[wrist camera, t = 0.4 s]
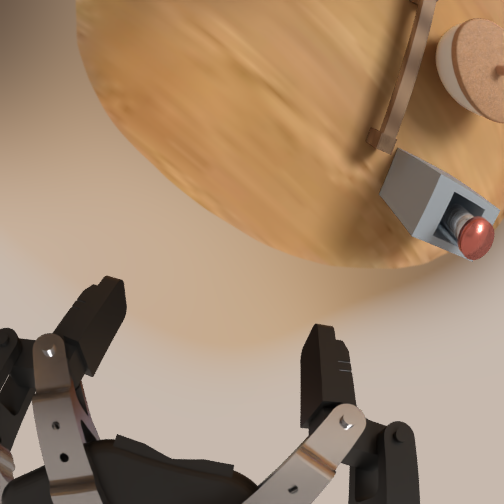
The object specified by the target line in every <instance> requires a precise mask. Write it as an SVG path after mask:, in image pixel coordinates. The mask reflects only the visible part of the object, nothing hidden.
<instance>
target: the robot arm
mask: <svg viewBox="0 0 504 504" xmlns="http://www.w3.org/2000/svg"><path fill="white" fill-rule="evenodd" d="M126 309H127V305H126V297H125V289H124V282H123V280H120V279H117V278H113V277H110V276H105V277H104V278H103V279H102V281H101V282H100V283H99V284H98V286H97V285H94V284H93V285H92V286H90V287H89V288H87V289H85V290H84V291H83V292H82V294H81V295H80V296H79V297H78V299H77V301H75V303H74V304H73V306H72V308H70V309H69V311H68V312H67V314H66V315H65V316H64V318H63V319H62V321H61V322H60V323H59V325H58V326H57V328H56V329H55V331H54V332H53V333H47V334H44V335H41V336H40V337H39V338H37V340H28V339H20V338H18V336H17V334H16V332H15V331H14V330H13V329H10V328H3V329H0V390H1V388H2V386H3V384H4V383H5V384H4V386H3V388H2V390H1V392H0V504H311V503H312V502H313V501H314V500H315V499H316V498H317V496H318V495H319V494H320V493H321V492H322V491H323V489H324V488H325V487H326V486H327V485H328V483H329V482H330V481H331V480H332V478H333V477H334V475H335V473H336V471H335V470H336V468H337V467H338V465H339V464H340V463H343V464H346V465H349V466H350V477H349V501H348V504H420V495H419V478H418V465H417V455H416V446H415V438H414V433H413V431H412V429H411V428H410V427H409V426H408V425H407V424H406V423H404V422H400V421H396V422H393V423H390V424H389V425H388V426H385V425H382V424H379V423H376V422H373V421H370V420H368V419H366V418H365V415H364V414H363V412H362V411H361V410H360V409H359V408H358V407H357V406H356V400H355V392H354V384H353V377H352V373H351V364H350V357H349V351H348V349H347V347H346V346H345V344H344V342H343V341H341V340H336V339H335V331H334V328H333V327H332V326H326V325H321V324H315V325H314V326H313V328H312V330H311V332H310V334H309V336H308V338H307V340H306V342H305V344H304V346H303V349H302V353H301V360H300V363H301V417H300V418H301V419H300V421H301V422H300V423H301V424H300V427H301V428H309V436H308V437H307V438H306V439H305V440H304V441H303V443H301V444H300V446H299V447H298V448H297V449H296V450H295V451H294V452H293V453H292V454H291V455H290V456H289V457H288V458H287V459H286V460H285V461H284V462H283V463H282V464H281V465H280V466H279V467H278V468H277V469H276V470H275V471H274V472H272V474H270V475H269V476H268V477H267V478H266V479H265V480H264V481H263V482H262V483H260V484H259V485H258V486H257V485H256V484H255V483H254V482H253V481H251V480H250V479H249V478H247V477H246V476H244V475H242V474H240V473H238V472H236V471H234V470H233V468H234V465H231V464H225V463H220V462H214V461H209V460H204V459H203V460H202V459H201V460H187V459H171V458H169V457H167V456H165V455H163V454H162V453H160V452H158V451H156V450H154V449H153V448H151V447H149V446H147V445H146V444H144V443H141V442H138V441H135V440H132V439H129V438H126V437H124V436H121V435H118V434H117V436H116V439H115V440H114V439H105V440H100V438H99V436H98V433H97V430H96V428H95V426H94V424H93V422H92V418H91V415H90V412H89V408H88V405H87V401H86V397H85V393H84V389H83V385H82V381H81V380H82V377H83V376H84V374H86V375H89V376H91V377H93V376H94V374H95V372H96V370H97V368H98V366H99V364H100V362H101V360H102V359H103V357H104V355H105V353H106V351H107V349H108V347H109V346H110V343H111V342H112V340H113V338H114V336H115V334H116V333H117V331H118V329H119V327H120V325H121V323H122V322H123V320H124V318H125V315H126ZM8 375H9V377H8ZM7 377H8V378H7ZM6 379H7V380H6ZM5 381H6V382H5ZM35 392H36V394H35ZM31 400H32V405H33V411H34V418H35V423H36V429H37V434H38V439H39V444H40V448H41V452H42V456H43V460H44V464H45V465H44V466H42V467H40V468H38V469H35V470H33V471H31V472H29V473H27V474H24V475H22V476H20V477H18V478H15V479H14V477H13V471H14V470H15V465H14V462H13V457H12V454H11V452H10V451H11V448H12V446H13V443H14V440H15V438H16V435H17V433H18V430H19V428H20V425H21V423H22V420H23V418H24V416H25V414H26V411H27V409H28V407H29V405H30V403H31Z"/></svg>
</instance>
